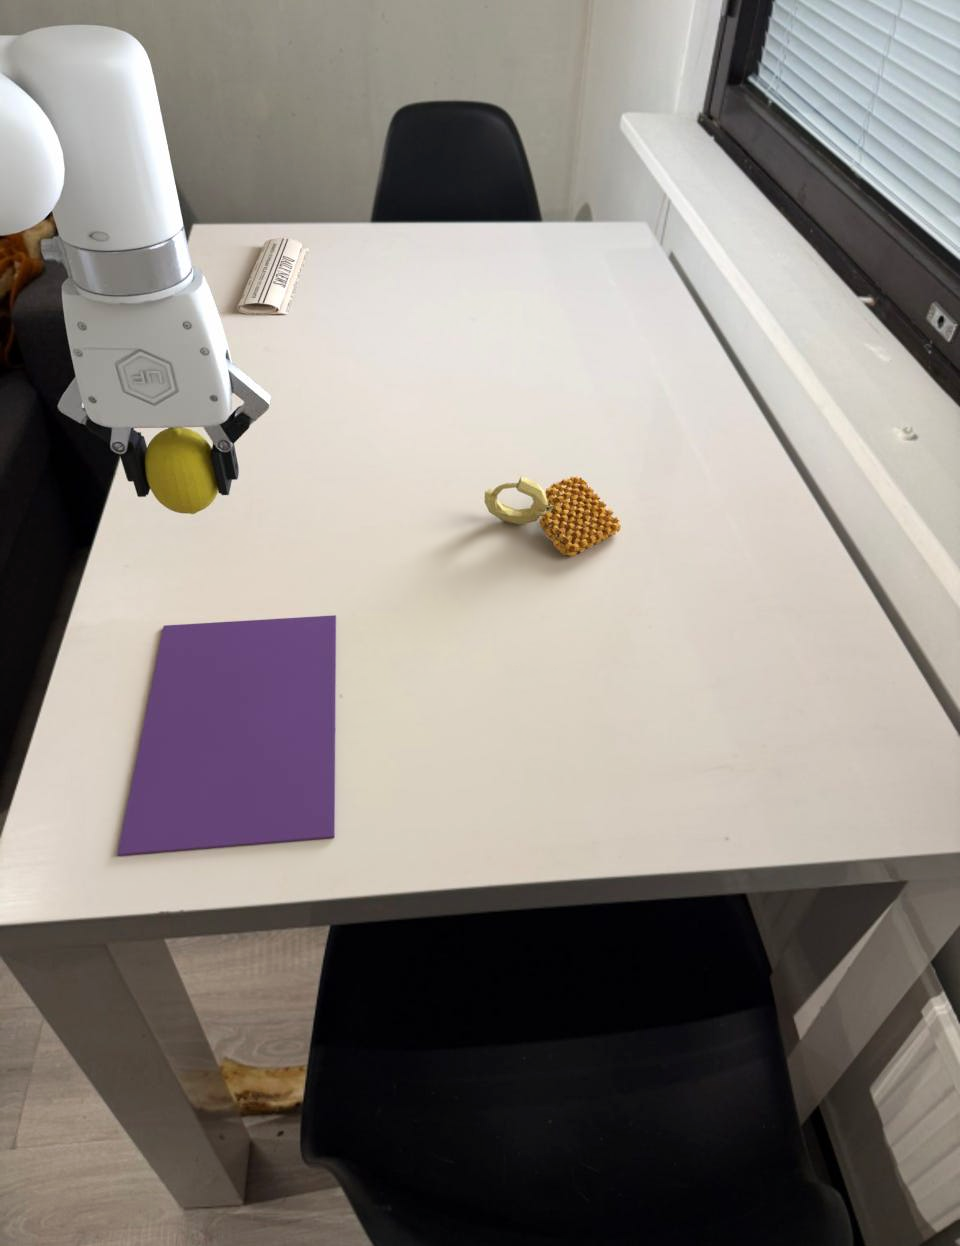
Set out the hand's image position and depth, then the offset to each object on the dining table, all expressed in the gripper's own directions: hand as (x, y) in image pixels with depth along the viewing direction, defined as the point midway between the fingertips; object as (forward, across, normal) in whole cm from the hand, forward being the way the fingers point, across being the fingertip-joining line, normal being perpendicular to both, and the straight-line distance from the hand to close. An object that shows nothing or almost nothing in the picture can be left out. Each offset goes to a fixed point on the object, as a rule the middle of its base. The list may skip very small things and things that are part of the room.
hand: (186, 483), depth 69 cm
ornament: (+17, +33, +14) cm, 40 cm away
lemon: (+3, 0, 0) cm, 3 cm away
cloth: (+17, +3, -11) cm, 20 cm away
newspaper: (+17, -2, +77) cm, 79 cm away
